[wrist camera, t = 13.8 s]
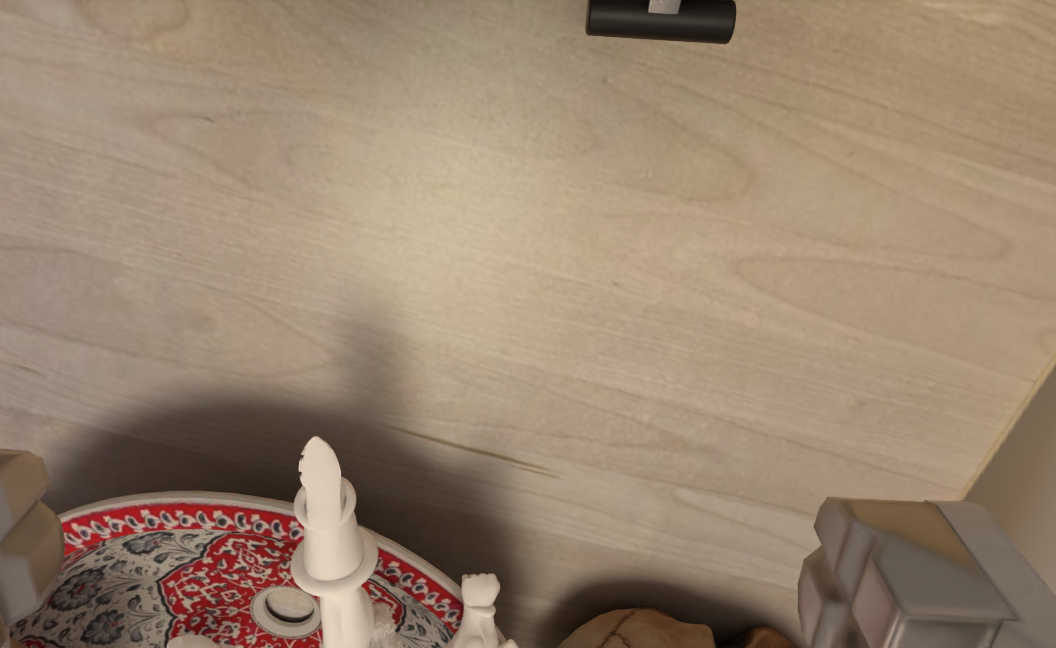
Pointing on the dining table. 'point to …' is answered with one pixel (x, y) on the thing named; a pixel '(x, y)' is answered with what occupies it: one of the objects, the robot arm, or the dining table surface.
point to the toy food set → (16, 644)
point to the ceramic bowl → (212, 578)
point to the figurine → (356, 569)
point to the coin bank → (660, 633)
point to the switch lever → (663, 19)
